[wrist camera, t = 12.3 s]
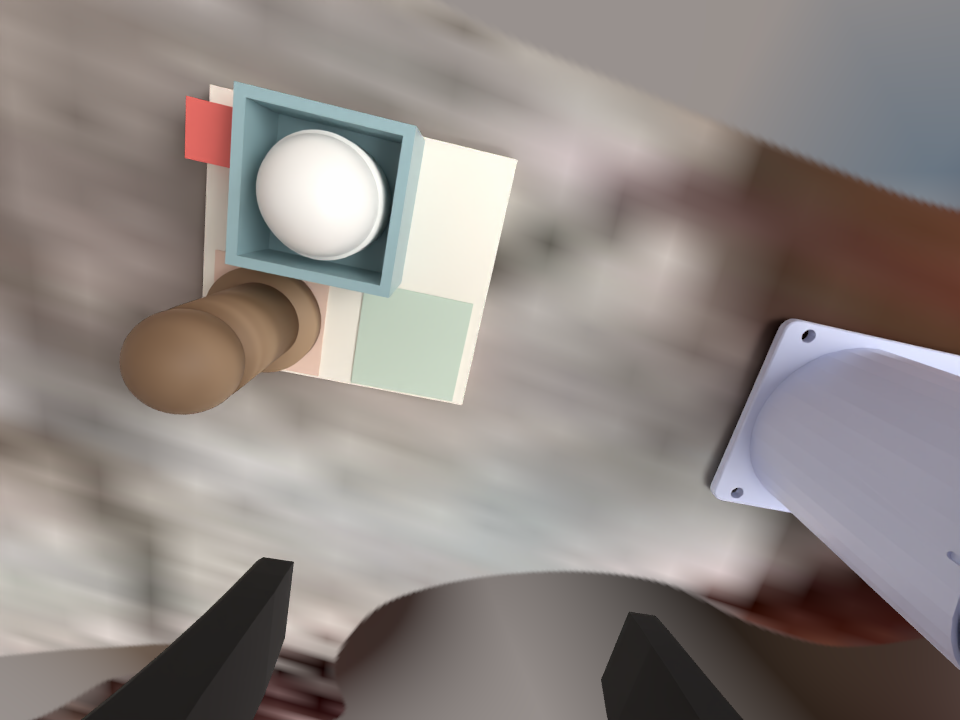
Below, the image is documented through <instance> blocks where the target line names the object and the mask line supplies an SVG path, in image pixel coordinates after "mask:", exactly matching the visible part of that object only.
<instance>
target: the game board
mask: <svg viewBox="0 0 960 720" xmlns="http://www.w3.org/2000/svg"><path fill="white" fill-rule="evenodd" d="M233 91H234V90H231V89H227V88H223V87H219V86H215V85H211V84H210V97H209V101H205V100H201V99H197V98H193V97H189V96H186V123H185V158H187V159H192V160H196V161H200V162H205V163H207V183H206V211H205V239H204V268H203V296H202V298H203V297H206V296H207V294H208V291H209V289H210V288H211V286H212V285H213V284H214V283H215V281H216V280H217V279H219V278H220V277H221V276H222V275H224V274H226V273H227V272H229V271H232V270H234V269H238V268H241V267H238V266H233V265H228V264H225V254H226V233H227V213H228V193H229V173H230V152H231V132H232V112H233ZM423 138H424V140H425V145H424V151H423V157H422V163H421V169H420V174H419V180H418V186H417V192H416V198H415V204H414V210H413V216H412V222H411V228H410V234H409V240H408V246H407V252H406V258H405V264H404V270H403V276H402V282H401V284H400V285H399V286H398V288H397V289H396V290H395V291H394V292H393V294H392V295H391V296H390V297H389V298H386V297H381V296H376V295H372V294H367V293H362V292H357V291H352V290H348V289H343V288H338V287H333V286H329V285H324V284H319V283H314V282H309V281H305V280H302V281H303V282H305V283H306V285H307V286H308V287H309V288H310V289H311V291H312V293H313V294H314V296H315V298H316V300H317V302H318V305H319V308H320V313H321V329H320V334H319V337H318V339H317V341H316V343H315V345H314V346H313V348H312V349H311V350H310V351H309V352H308V353H307V354H306V355H305V356H304V357H303V358H302V359H301V360H299V361H298V362H297V363H295V364H294V365H292V366H291V367H289V368H286V369H284V370H280V371H284V372H289V373H295V374H300V375H305V376H310V377H316V378H321V379H326V380H332V381H337V382H342V383H347V384H353V385H358V386H363V387H369V388H374V389H379V390H385V391H390V392H395V393H400V394H406V395H411V396H416V397H422V398H427V399H432V400H437V401H443V402H448V403H453V404H459V405H462V402H463V398H464V394H465V389H466V385H467V380H468V376H469V372H470V367H471V363H472V358H473V354H474V350H475V345H476V341H477V336H478V332H479V328H480V323H481V319H482V314H483V310H484V306H485V301H486V297H487V292H488V288H489V284H490V279H491V275H492V270H493V266H494V262H495V257H496V253H497V248H498V244H499V239H500V235H501V231H502V226H503V222H504V217H505V213H506V209H507V204H508V200H509V195H510V191H511V187H512V182H513V178H514V173H515V169H516V165H517V160H516V159H512V158H508V157H504V156H500V155H496V154H492V153H487V152H483V151H479V150H475V149H471V148H467V147H463V146H459V145H455V144H451V143H447V142H443V141H439V140H435V139H430V138H426V137H423Z"/></svg>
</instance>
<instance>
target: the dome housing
mask: <svg viewBox="0 0 960 720" xmlns="http://www.w3.org/2000/svg"><path fill="white" fill-rule="evenodd" d="M302 130H323V131H328V132H332V133H335V134H337V135H339V136H342V137H344V138H346V139H347V140H349V141H351V142H353V143H354V144H356V145H358V146H359V147H361V148H362V149H364V150H365V151H366V152H368V153H369V154H370V155H371V156H372V157H373V158H374V159H375V160H376V161H377V163H378V164H379V165H380V167H381V169H382V170H383V172H384V174H385V176H386V179H387V181H388V184H389V188H390V193H391V212H390V216H389V220H388V223H387V225H386V227H385V229H384V231H383V232H382V234H381V235H380V237H379V238H378V239H377V240H376V241H375V242H374V243H373V244H371V245H370V246H369V247H367V248H365V249H364V250H362V251H359V252H357V253H355V254H352V255H350V256H347V257H345V258H341V259H338V260H316V259H311V258H308V257H305V256H302V255H300V254H298V253H296V252H294V251H293V250H291V249H290V248H288V247H287V246H285V245H284V244H283V243H282V242H281V241H280V240H279V239H278V238H277V237H276V236H275V235H274V234H273V232H272V231H271V230H270V228H269V227H268V225H267V224H266V222H265V221H264V219H263V217H262V215H261V212H260V210H259V206H258V202H257V197H256V180H257V175H258V171H259V168H260V166H261V163H262V161H263V160H264V158H265V156H266V155H267V153H268V152H269V151H270V149H271V148H272V147H273V146H274V145H275V144H276V143H277V142H278V141H280V140H281V139H283V138H284V137H286V136H288V135H290V134H292V133H295V132H298V131H302ZM424 145H425V140H424V138H423V136H422V135H421V133H420V131H419V129H418V128H417V126H414V125H410V124H406V123H402V122H398V121H394V120H390V119H386V118H382V117H378V116H374V115H370V114H366V113H361V112H357V111H353V110H349V109H345V108H341V107H337V106H333V105H329V104H325V103H321V102H317V101H313V100H309V99H305V98H301V97H297V96H293V95H289V94H285V93H281V92H277V91H273V90H269V89H265V88H260V87H256V86H252V85H248V84H244V83H240V82H236V81H234V91H233V112H232V132H231V152H230V173H229V193H228V213H227V233H226V254H225V264H228V265H233V266H238V267H242V268H247V269H252V270H257V271H262V272H266V273H271V274H276V275H281V276H285V277H290V278H295V279H300V280H305V281H309V282H314V283H319V284H324V285H329V286H333V287H338V288H343V289H348V290H352V291H357V292H362V293H367V294H372V295H376V296H381V297H386V298H389V297H390V296H391V295H392V294H393V292H394V291H395V290H396V289H397V288H398V286H399V285H400V284H401V282H402V276H403V270H404V264H405V258H406V252H407V246H408V240H409V234H410V228H411V222H412V216H413V210H414V204H415V198H416V192H417V186H418V180H419V174H420V169H421V163H422V157H423V151H424Z"/></svg>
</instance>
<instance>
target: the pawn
mask: <svg viewBox="0 0 960 720" xmlns="http://www.w3.org/2000/svg"><path fill="white" fill-rule="evenodd" d="M320 329H321V313H320V308H319V305H318V302H317V300H316V298H315V296H314V294H313V293H312V291H311V289H310V288H309V287H308V286H307V285H306V283H305V282H303V281H302V280H300V279H295V278H290V277H285V276H281V275H276V274H271V273H266V272H262V271H257V270H252V269H247V268H242V267H241V268H238V269H234V270H232V271H229V272H227V273H226V274H224V275H222V276H221V277H220V278H219V279H217V280H216V281H215V283H214V284H213V285H212V286H211V288H210V289H209V291H208V294H207V296H206V297H203V298H200V299H197V300H194V301H191V302H188V303H185V304H182V305H179V306H176V307H174V308H171V309H169V310H167V311H162V312H159V313H156V314H154V315H152V316H149V317H148V318H146V319H144V320H143V321H141V322H140V323H139V324H138V325H136V326H135V327H134V328H133V330H132V331H131V332H130V333H129V334H128V336H127V337H126V339H125V341H124V344H123V346H122V348H121V352H120V371H121V375H122V378H123V380H124V382H125V384H126V386H127V387H128V389H129V390H130V391H131V393H132V394H133V395H134V396H135V397H136V398H137V399H139V400H140V401H141V402H142V403H144V404H146V405H147V406H149V407H151V408H153V409H156V410H158V411H162V412H165V413H170V414H185V415H186V414H194V413H199V412H203V411H206V410H209V409H211V408H214V407H216V406H217V405H219V404H221V403H222V402H224V401H225V400H226V399H227V398H228V397H229V396H230V395H232V394H234V393H235V392H236V391H238V390H239V389H240V388H241V387H243V386H244V385H245V384H246V383H248V382H249V381H250V380H251V379H253V378H254V377H255V376H256V375H258V374H259V373H260V372H276V371H280V370H284V369H286V368H289V367H291V366H292V365H294V364H295V363H297V362H298V361H299V360H301V359H302V358H303V357H304V356H305V355H306V354H307V353H308V352H309V351H310V350H311V349H312V348H313V346H314V345H315V343H316V341H317V339H318V337H319V334H320Z"/></svg>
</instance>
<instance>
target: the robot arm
mask: <svg viewBox="0 0 960 720" xmlns="http://www.w3.org/2000/svg"><path fill="white" fill-rule="evenodd" d="M807 330H808V335H807V337H806V338H805V339H803V340H802V335H803V333H804V332H805V331H807ZM735 488H738V489H737V490H736V491H735V492H733V493H731V492H732V490H733V489H735ZM710 489H711V492H712V493H713V495H714V496H715V497H716V498H717V499H719V500H722V501H728V502H734V503H739V504H745V505H750V506H756V507H762V508H767V509H773V510H779V511H784V512H790V513H792V514H793V515H795V516H796V517H797V518H798V519H799V520H800V521H801V522H802V523H803V524H804V525H805V526H806V527H807V528H808V529H810V530H811V531H812V532H813V533H814V534H815V535H816V536H817V537H818V538H819V539H820V540H821V541H822V542H823V543H824V544H826V545H827V546H828V547H829V548H830V549H831V550H832V551H833V552H834V553H835V554H836V555H837V556H838V557H839V558H841V559H842V560H843V561H844V562H845V563H846V564H847V565H848V566H849V567H850V568H851V569H852V570H853V571H854V572H855V573H857V574H858V575H859V576H860V577H861V578H862V579H863V580H864V581H865V582H866V583H867V584H868V585H869V586H870V587H872V588H873V589H874V590H875V591H876V592H877V593H878V594H879V595H880V596H881V597H882V598H883V599H884V600H885V601H887V602H888V603H889V604H890V605H891V606H892V607H893V608H894V609H895V610H896V611H897V612H898V613H899V614H900V615H901V616H903V617H904V618H905V619H906V620H907V621H908V622H909V623H910V624H911V625H912V626H913V627H914V628H915V629H916V630H918V631H919V632H920V633H921V634H922V635H923V636H924V637H925V638H926V639H927V640H928V641H929V642H930V643H931V644H932V645H934V646H935V647H936V648H937V649H938V650H939V651H940V652H941V653H942V654H943V655H944V656H945V657H946V658H947V659H949V660H950V661H951V662H952V663H953V664H954V665H955V666H956V667H957V668H958V669H959V670H960V355H956V354H951V353H947V352H942V351H938V350H933V349H929V348H924V347H920V346H916V345H911V344H907V343H902V342H898V341H893V340H889V339H884V338H880V337H875V336H871V335H866V334H862V333H858V332H853V331H849V330H844V329H840V328H835V327H831V326H826V325H822V324H817V323H813V322H809V321H804V320H800V319H789V320H786V321H785V322H783V323H782V324H781V326H780V327H779V329H778V331H777V333H776V336H775V338H774V340H773V342H772V345H771V347H770V349H769V352H768V354H767V356H766V359H765V361H764V363H763V366H762V368H761V370H760V372H759V375H758V377H757V379H756V382H755V384H754V386H753V389H752V391H751V393H750V395H749V398H748V400H747V402H746V405H745V407H744V409H743V412H742V414H741V416H740V419H739V421H738V423H737V425H736V428H735V430H734V432H733V435H732V437H731V439H730V442H729V444H728V446H727V449H726V451H725V453H724V455H723V458H722V460H721V462H720V465H719V467H718V469H717V472H716V474H715V476H714V479H713V481H712V483H711V487H710ZM293 564H294V562H292V561H285V560H278V559H272V558H265V557H263V558H261V559H260V560H258V561H257V562H256V563H255V564H254V565H253V566H252V567H251V568H250V569H249V570H248V571H247V572H246V573H245V574H244V575H243V576H242V577H241V578H240V579H239V580H238V581H237V582H236V583H235V584H234V585H233V586H232V587H231V588H230V589H229V590H228V591H227V592H226V593H225V594H224V595H223V596H222V597H221V598H220V599H219V600H218V601H217V602H216V603H215V604H214V605H213V606H212V607H211V608H210V609H209V610H208V611H207V612H206V613H205V614H204V615H203V616H201V617H200V618H199V619H198V620H197V621H196V622H195V623H194V624H193V625H192V626H191V627H189V628H188V629H187V630H186V631H185V632H184V633H183V634H182V635H181V636H180V637H179V638H177V639H176V640H175V641H174V642H173V643H172V644H171V645H170V646H169V647H168V648H166V649H165V650H164V651H163V652H162V653H161V654H160V655H159V656H158V657H157V658H155V659H154V660H153V661H152V662H150V663H149V664H148V665H147V666H146V667H144V668H143V669H142V670H141V671H140V672H139V673H137V674H136V675H135V676H134V677H133V678H131V679H130V680H129V681H128V682H127V683H126V684H124V685H123V686H122V687H121V688H120V689H118V690H117V691H116V692H115V693H114V694H113V695H111V696H110V697H109V698H108V699H106V700H105V701H104V702H103V703H102V704H100V705H99V706H98V707H97V708H95V709H94V710H93V711H92V712H90V713H89V714H88V715H87V716H85V717H84V718H83V719H82V720H253V718H254V716H255V714H256V712H257V710H258V707H259V705H260V703H261V701H262V699H263V696H264V694H265V691H266V689H267V686H268V683H269V681H270V678H271V675H272V672H273V670H274V667H275V664H276V661H277V658H278V656H279V653H280V650H281V647H282V644H283V641H284V639H285V632H286V624H287V615H288V607H289V598H290V590H291V581H292V573H293ZM601 682H602V688H603V694H604V700H605V707H606V713H607V718H608V720H743V719H742V718H741V716H740V715H739V714H738V713H737V712H736V711H735V710H734V708H733V707H732V706H731V705H730V704H729V702H728V701H727V700H726V699H725V698H724V697H723V695H722V694H721V693H720V692H719V691H718V690H717V688H716V687H715V686H714V685H713V684H712V683H711V681H710V680H709V679H708V678H707V676H706V675H705V674H704V673H703V672H702V670H701V669H700V668H699V667H698V666H697V665H696V663H695V662H694V661H693V660H692V658H691V657H690V656H689V655H688V653H687V652H686V651H685V650H684V649H683V648H682V646H681V645H680V644H679V643H678V642H677V640H676V639H675V638H674V637H673V636H672V634H671V633H670V632H669V631H668V630H667V628H665V626H664V625H663V624H662V623H661V622H660V620H659V619H658V618H657V617H656V616H653V615H647V614H640V613H633V612H629V613H628V616H627V618H626V620H625V623H624V625H623V628H622V630H621V633H620V635H619V637H618V640H617V643H616V645H615V647H614V650H613V652H612V655H611V657H610V660H609V662H608V664H607V667H606V669H605V672H604V674H603V676H602V679H601Z"/></svg>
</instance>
